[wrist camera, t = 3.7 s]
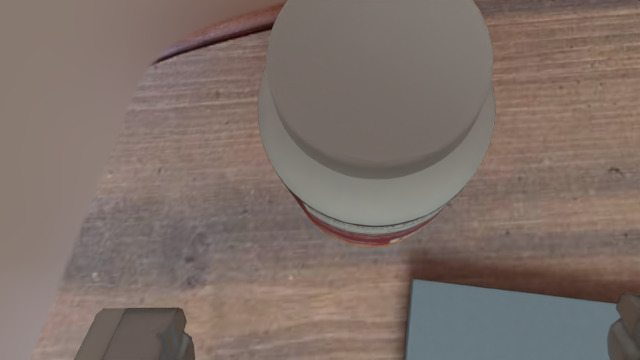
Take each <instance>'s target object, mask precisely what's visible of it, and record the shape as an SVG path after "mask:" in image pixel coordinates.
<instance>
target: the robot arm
mask: <svg viewBox="0 0 640 360" xmlns="http://www.w3.org/2000/svg"><path fill="white" fill-rule="evenodd" d="M616 310H617V312H618V313H619V315H620V318H619V319H618V320H617V321H615V322H614V323H613V324H611V325H610V328H609V332H608V336H607V346H608V355H609V358H610V360H640V292H635V293H624V294H623V295H622V296H621V297H620V298H619V299H618V302H617V305H616ZM186 322H187V321H186V318H185V315H184V312H183V309H181V308H115V309H102V310H101V311H100V312H99V313H98V314H97V315H96V317H95V319H94V321H93V323H92V325H91V327H90V329H89V331H88V333H87V335H86V337H85V339H84V341H83V343H82V345H81V347H80V349H79V351H78V353H77V355H76V357H75V359H74V360H195V352H194V345H193V341H192V338H191V337H190V336H189V335H188V334H187V333H185V332H184V328H185V325H186Z"/></svg>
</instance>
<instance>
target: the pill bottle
mask: <svg viewBox="0 0 640 360" xmlns="http://www.w3.org/2000/svg"><path fill="white" fill-rule="evenodd" d="M492 73H493V48H492V41H491V38H490V34H489V30H488V27H487V25H486V23H485V20H484V18H483V16H482V14H481V12H480V10H479V8H478V7H477V6H476V4H475V3H474V1H473V0H288V1H287V2H286V4H285V5H284V6H283V8H282V10H281V11H280V13H279V15H278V17H277V19H276V21H275V23H274V26H273V28H272V31H271V34H270V38H269V42H268V47H267V54H266V68H265V70H264V73H263V76H262V80H261V84H260V89H259V95H258V123H259V129H260V135H261V139H262V142H263V146H264V148H265V151H266V153H267V156H268V158H269V160H270V162H271V164H272V166H273V168H274V169H275V171H276V173H277V174H278V176H279V177H280V179H281V180H282V181H283V183H284V184H285V186H286V187H287V188H288V190H289V191H290V192H291V194H292V195H293V196H294V198H295V199H296V200H297V202H298V203H299V205H300V206H301V207H302V209H303V210H304V212H305V213H306V214H307V216H308V217H309V218H310V219H311V220H312V222H314V223H315V224H316V225H317V226H318V227H319V228H320V229H321V230H323V231H324V232H326V233H327V234H329V235H331V236H332V237H334V238H337V239H339V240H341V241H344V242H347V243H350V244H354V245H359V246H384V245H390V244H394V243H397V242H400V241H402V240H405V239H407V238H409V237H411V236H412V235H414V234H416V233H418V232H419V231H420V230H422V229H423V228H424V227H425V226H426V225H427V224H429V223H430V221H431V220H432V219H433V218H434V217H436V216H437V214H438V213H439V212H440V211H442V209H443V208H444V207H445V206H446V205H447V204H448V203H449V202H450V201H451V200H452V199H453V198H454V197H455V196H456V195H457V194H458V193H459V192H460V191H461V190H462V189H463V188H464V187H465V185H466V184H467V183H468V182H469V180H470V179H471V178H472V176H473V175H474V174H475V172H476V171H477V170H478V168H479V166H480V164H481V163H482V161H483V159H484V157H485V155H486V152H487V150H488V148H489V145H490V141H491V138H492V134H493V129H494V123H495V95H494V88H493V83H492Z"/></svg>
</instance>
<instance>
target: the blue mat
mask: <svg viewBox="0 0 640 360" xmlns="http://www.w3.org/2000/svg"><path fill="white" fill-rule="evenodd" d="M616 305H617V303H610V302H602V301H594V300H586V299H577V298H569V297H561V296H553V295H545V294H537V293H528V292H520V291H512V290H504V289H496V288H487V287H479V286H471V285H463V284H455V283H446V282H438V281H430V280H422V279H411V286H410V297H409V309H408V320H407V331H406V342H405V354H404V360H610V358H609V355H608V346H607V336H608V332H609V328H610V325H611V324H613V323H614V322H615V321H617V320H618V319H619V318H620V315H619V313H618V312H617V310H616Z"/></svg>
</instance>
